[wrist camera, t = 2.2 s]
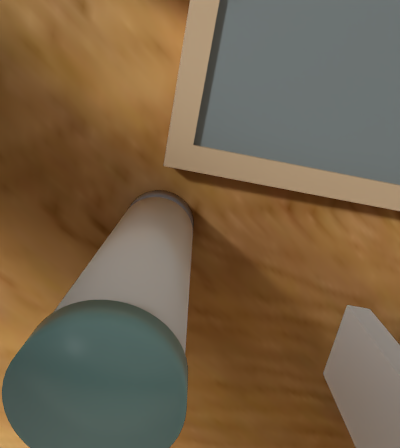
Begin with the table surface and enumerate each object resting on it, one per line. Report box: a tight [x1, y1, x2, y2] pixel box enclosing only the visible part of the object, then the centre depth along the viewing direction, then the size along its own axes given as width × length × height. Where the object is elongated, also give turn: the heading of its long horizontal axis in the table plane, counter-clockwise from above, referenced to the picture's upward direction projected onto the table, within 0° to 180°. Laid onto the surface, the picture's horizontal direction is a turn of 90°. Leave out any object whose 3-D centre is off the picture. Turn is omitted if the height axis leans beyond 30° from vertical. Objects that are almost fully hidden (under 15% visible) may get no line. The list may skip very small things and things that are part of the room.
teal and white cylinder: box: [2, 190, 194, 448], centre depth 13 cm, size 4×4×12 cm
